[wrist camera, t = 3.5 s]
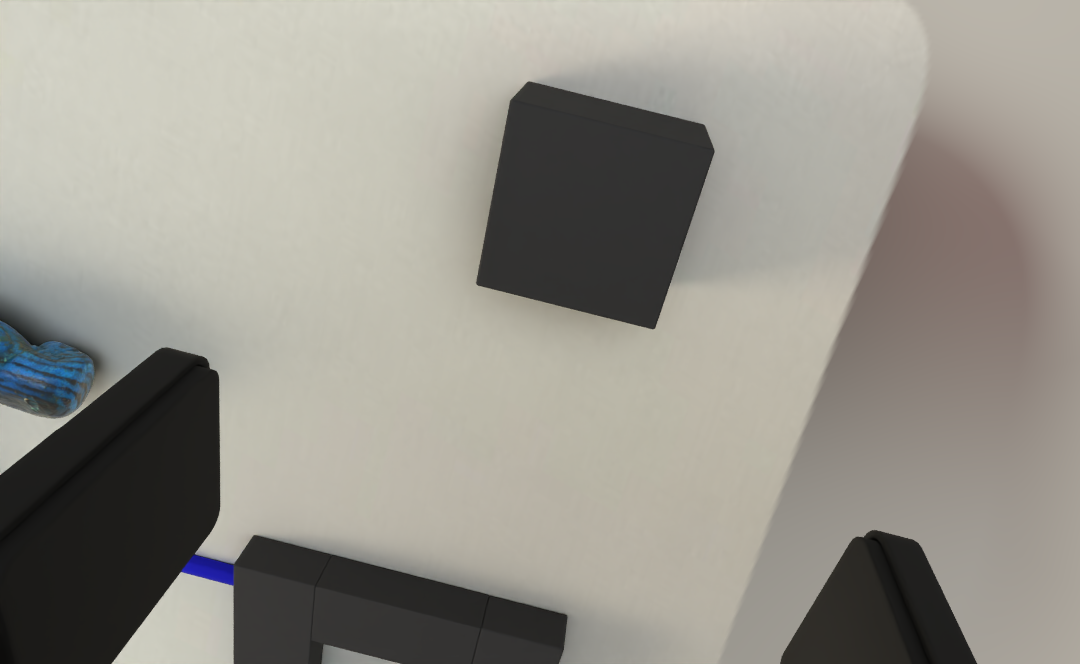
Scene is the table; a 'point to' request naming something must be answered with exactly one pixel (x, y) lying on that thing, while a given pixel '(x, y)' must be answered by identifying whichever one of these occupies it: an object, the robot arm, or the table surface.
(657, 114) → the black block
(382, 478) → the table surface
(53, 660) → the robot arm
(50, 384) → the figurine
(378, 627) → the dark grey square frame
